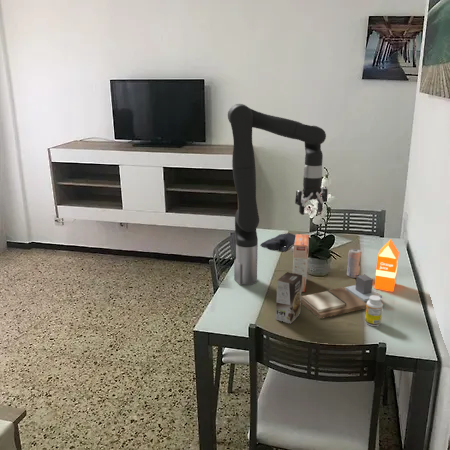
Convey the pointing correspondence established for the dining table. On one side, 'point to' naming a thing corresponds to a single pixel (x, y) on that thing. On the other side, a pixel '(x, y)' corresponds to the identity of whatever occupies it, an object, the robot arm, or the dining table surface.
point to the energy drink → (354, 263)
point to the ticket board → (332, 302)
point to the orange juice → (386, 267)
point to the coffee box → (288, 297)
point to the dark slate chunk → (280, 242)
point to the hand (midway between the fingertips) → (310, 213)
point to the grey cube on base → (363, 288)
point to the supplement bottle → (373, 311)
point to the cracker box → (301, 257)
